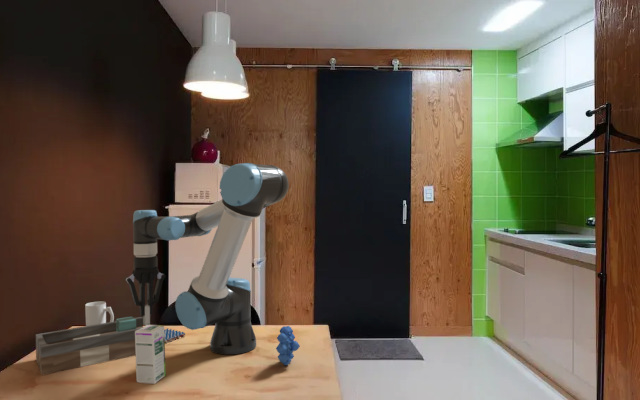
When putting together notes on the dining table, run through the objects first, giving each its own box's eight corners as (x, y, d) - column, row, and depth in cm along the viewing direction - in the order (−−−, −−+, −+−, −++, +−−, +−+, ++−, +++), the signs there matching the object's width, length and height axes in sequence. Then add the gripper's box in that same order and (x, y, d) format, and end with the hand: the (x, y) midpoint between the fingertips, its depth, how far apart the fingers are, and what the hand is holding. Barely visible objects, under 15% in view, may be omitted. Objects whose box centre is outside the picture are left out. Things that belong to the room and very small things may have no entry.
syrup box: (155, 384, 125) (154, 331, 125) (135, 382, 126) (134, 330, 126) (166, 376, 130) (165, 325, 130) (147, 374, 132) (146, 324, 131)
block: (136, 334, 152) (136, 319, 152) (120, 337, 149) (120, 322, 149) (132, 331, 156) (131, 316, 156) (116, 334, 153) (116, 319, 153)
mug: (81, 339, 164) (81, 305, 163) (92, 333, 170) (92, 301, 170) (108, 340, 163) (108, 306, 163) (118, 334, 170) (118, 301, 169)
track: (155, 350, 151) (154, 326, 151) (41, 375, 132) (41, 347, 132) (141, 339, 163) (141, 316, 163) (36, 359, 144) (35, 334, 144)
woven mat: (142, 341, 163) (142, 335, 163) (167, 333, 172) (166, 327, 172) (162, 346, 157) (162, 340, 157) (186, 337, 166) (186, 332, 166)
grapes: (294, 373, 131) (294, 331, 131) (271, 371, 133) (271, 330, 133) (305, 359, 143) (305, 320, 142) (284, 357, 144) (284, 319, 144)
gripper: (161, 252, 163) (162, 318, 164) (122, 256, 156) (123, 325, 156) (168, 255, 157) (169, 323, 158) (128, 258, 149) (129, 330, 150)
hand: (146, 324), depth 157 cm, fingers closed
